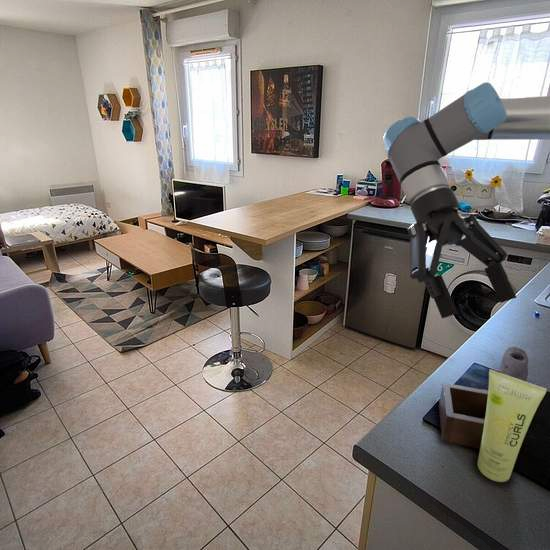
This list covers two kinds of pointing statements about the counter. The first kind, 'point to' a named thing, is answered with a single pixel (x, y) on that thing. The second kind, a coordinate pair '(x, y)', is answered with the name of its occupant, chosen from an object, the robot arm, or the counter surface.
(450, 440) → the frame
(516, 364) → the perforated stone tool
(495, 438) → the tube
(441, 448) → the counter surface
